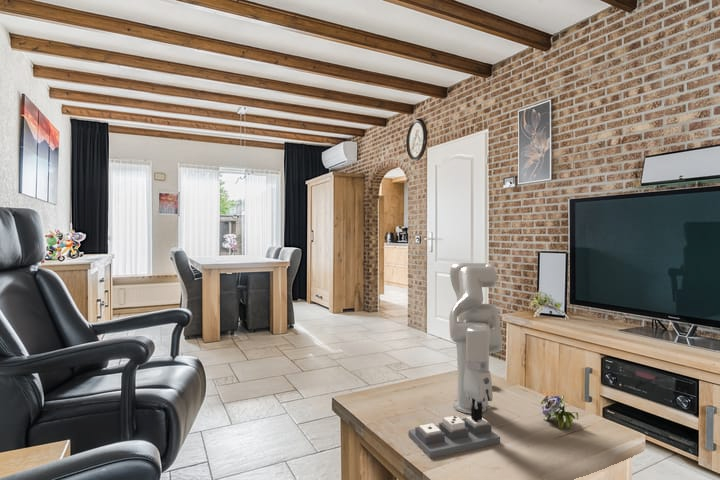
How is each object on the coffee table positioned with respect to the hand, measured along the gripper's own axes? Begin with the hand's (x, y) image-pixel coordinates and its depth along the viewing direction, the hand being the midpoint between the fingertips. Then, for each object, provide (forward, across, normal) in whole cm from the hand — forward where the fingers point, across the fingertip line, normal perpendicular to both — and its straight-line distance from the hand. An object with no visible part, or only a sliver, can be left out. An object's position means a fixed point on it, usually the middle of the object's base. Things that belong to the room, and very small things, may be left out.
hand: (476, 418), depth 133 cm
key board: (+6, 0, +9) cm, 11 cm away
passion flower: (+6, -2, -34) cm, 35 cm away
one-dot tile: (+3, 0, +18) cm, 18 cm away
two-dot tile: (+3, 0, 0) cm, 3 cm away
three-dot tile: (+2, 0, +9) cm, 9 cm away
